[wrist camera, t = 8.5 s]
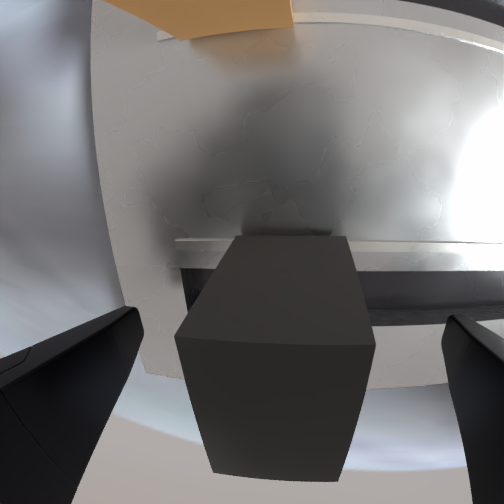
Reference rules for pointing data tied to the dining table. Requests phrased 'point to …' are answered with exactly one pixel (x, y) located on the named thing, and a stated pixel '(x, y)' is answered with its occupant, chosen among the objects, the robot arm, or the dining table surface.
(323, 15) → the panel
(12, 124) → the dining table surface
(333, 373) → the black fader
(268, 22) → the orange fader
